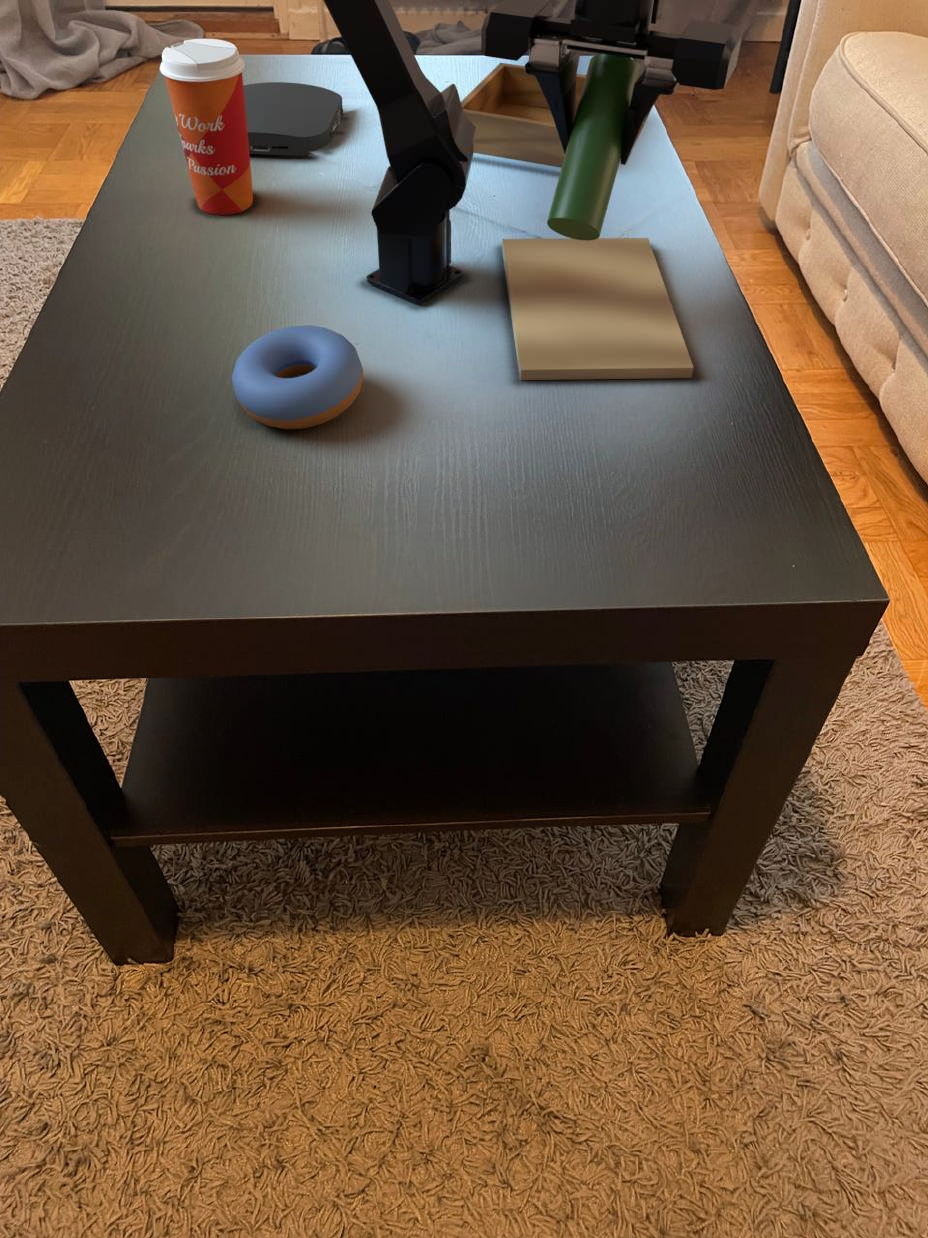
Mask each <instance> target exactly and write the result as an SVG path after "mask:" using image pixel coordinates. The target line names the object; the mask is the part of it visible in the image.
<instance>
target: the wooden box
mask: <svg viewBox="0 0 928 1238" xmlns="http://www.w3.org/2000/svg"><path fill="white" fill-rule="evenodd" d="M585 78H586V74H581V73H577V76H576V112H577V108H578V104H579V100H580V97H581V93H582V89H583V85H584V82H585ZM460 101H461V105H462V108H463V111H464V113H465V114H466V116H467V118H468V119H469V120H470V121H471V122H472V123H473V124H474V125H475V127H476V129H475V133H474V137H473V141H472V142H473V149H474V153H473V154H479V155H485V156H491V157H497V158H503V159H508V160H514V161H520V162H525V163H532V164H539V165H543V166H549V167H556V168H562V164H563V160H564V157H565V154H564V151H563V148H562V144H561V141H560V138H559V135H558V132H557V129H556V126H555V122H554V119H553V116H552V113H551V110H550V108H549V105H548V103H547V101H546V99H545V96H544V94H543V92H542V90H541V88H540V85H539V83H538V81H537V79H536V77H535V76H534V75H529V74H526V73H525V65H520V64H513V63H505V62H500V63H499V64H497V65H496V66H495V68H493V69H492V70H491V72H489V73H488V75H486V76H485V77H484V78H483V79H481V81H480V82H479V83H478V84H477V85H476V86H475V87H474V88H473V89H472V90H471V91H470V92H469V93H468V94H467V95H466V96H464V98H463V99H462V100H460Z"/></svg>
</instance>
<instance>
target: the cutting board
mask: <svg viewBox="0 0 928 1238" xmlns="http://www.w3.org/2000/svg"><path fill="white" fill-rule="evenodd" d="M501 252H502V259H503V266H504V267H503V268H504V275H505V279H506V280H505V281H506V289H507V296H508V302H509V309H510V310H509V311H510V318H511V325H512V333H513V338H514V339H513V340H514V346H515V355H516V360H517V369H518V375H519V380H520V381H561V380H562V381H563V380H564V381H565V380H571V381H572V380H638V379H639V380H641V379H642V380H646V379H647V380H648V379H649V380H650V379H692V378H693V373H694V369H695V367H694V365H693V361H692V358H691V356H690V353H689V350H688V347H687V345H686V342H685V339H684V335H683V333H682V330H681V327H680V324H679V322H678V318H677V317H676V314H675V311H674V307H673V304H672V302H671V299H670V296H669V294H668V290H667V288H666V285H665V282H664V279H663V277H662V273H661V270H660V267H659V265H658V262H657V259H656V257H655V253H654V250H653V248H652V245H651V242H650V239H649V238H648V237H599V238H598V239H595V240H588V241H586V240H577V239H572V238H569V237H566V238H563V237H562V238H502V240H501Z"/></svg>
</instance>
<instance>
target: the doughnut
mask: <svg viewBox="0 0 928 1238" xmlns="http://www.w3.org/2000/svg"><path fill="white" fill-rule="evenodd" d="M363 378H364V367H363V366H362V361H361V359H360V356H359V353H358V351H357V348H356V346H355V345H354V344H352V342H350V341H349V340H348V338H346V337H345V336H344V335H343V334H342V333H338V332H336V331H335V330H332V329H329V328H328V327H323V326H318V325H317V326H316V325H311V324H310V325H309V324H308V325H292V326H288V327H283V328H280V329H276V330H273V331H270V332H268V333H266V334H264V335H262V336H260V337H258V338H257V339H256V340H254V341H253V342H252V343H250V344H249V345H247V347H246V348H245V349H244V350H243V351H242V353H240V355H239V356H238V358H237V359H236V361H235V365H234V368H233V372H232V374H231V380H232V382H231V383H232V387H233V391H234V396H235V397H236V399H237V403H238V404H239V405H240V407H241V408H242V409H243V410H244V411H245V412H246V414H247V415H248V416H249V417H250V418H252V420H256V421H257V422H259V423H261V424H263V425H265V426H267V427H272V428H278V429H283V430H296V429H297V430H301V429H307V428H311V427H315V426H319V425H322V424H324V423H327V422H329V421H331V420H333V419H335V418H337V417H338V416H339V415H341V414H342V413H343V412H344V411H346V409H348V408H349V407H350V406H352V404H354V401H356V399H357V397H358V395H360V392H361V390H362V387H363V380H364V379H363Z"/></svg>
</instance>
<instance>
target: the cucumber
mask: <svg viewBox="0 0 928 1238" xmlns="http://www.w3.org/2000/svg"><path fill="white" fill-rule="evenodd" d="M643 71H644V68H643V67H642V66H641V64H640V63H639V62H638V61H637V60H636V59H634V58H628V57H621V56H614V55H607V54H600V53H595V54H594V55H593V56H592V57H591V58H590V59H589V63H588V67H587V71H586V74H585V75H586V78H585V82H584V85H583V89H582V93H581V97H580V100H579V104H578V108H577V112H576V115H575V119H574V123H573V127H572V130H571V134H570V138H569V142H568V145H567V149H566V153H565V157H564V160H563V164H562V168H561V167H560V168H561V169H560V172H559V175H558V179H557V183H556V187H555V191H554V194H553V198H552V202H551V206H550V209H549V214H548V217H547V220H546V224H547V226H548V228H549V230H551V231H553V232H555V233H557V234H558V235H561V236H563V237H566V238H572V239H577V240H586V241H588V240H595V239H598V238H600V236H601V232H602V229H603V226H604V223H605V219H606V214H607V211H608V207H609V204H610V199H611V196H612V191H613V189H614V185H615V181H616V179H617V178H616V177H617V174H618V170H619V167H620V164H621V153H622V152H621V148H622V142H623V137H624V132H625V128H626V123H627V118H628V113H629V108H630V103H631V98H632V93H633V88H634V84H635V82H636V81H637V79H638V78H639V77H640V75H641V74H642V72H643Z"/></svg>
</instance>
